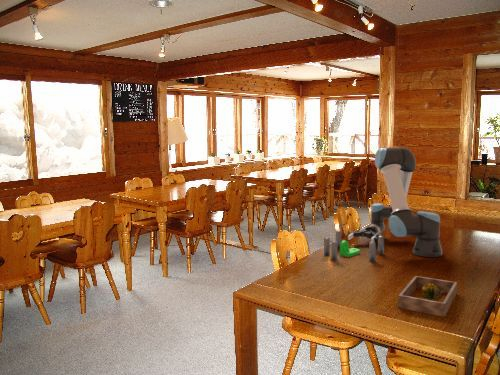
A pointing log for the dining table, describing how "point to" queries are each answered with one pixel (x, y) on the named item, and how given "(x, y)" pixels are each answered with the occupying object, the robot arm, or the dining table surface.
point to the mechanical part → (347, 249)
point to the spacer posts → (336, 245)
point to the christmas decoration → (431, 292)
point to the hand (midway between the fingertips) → (360, 239)
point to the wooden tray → (424, 304)
